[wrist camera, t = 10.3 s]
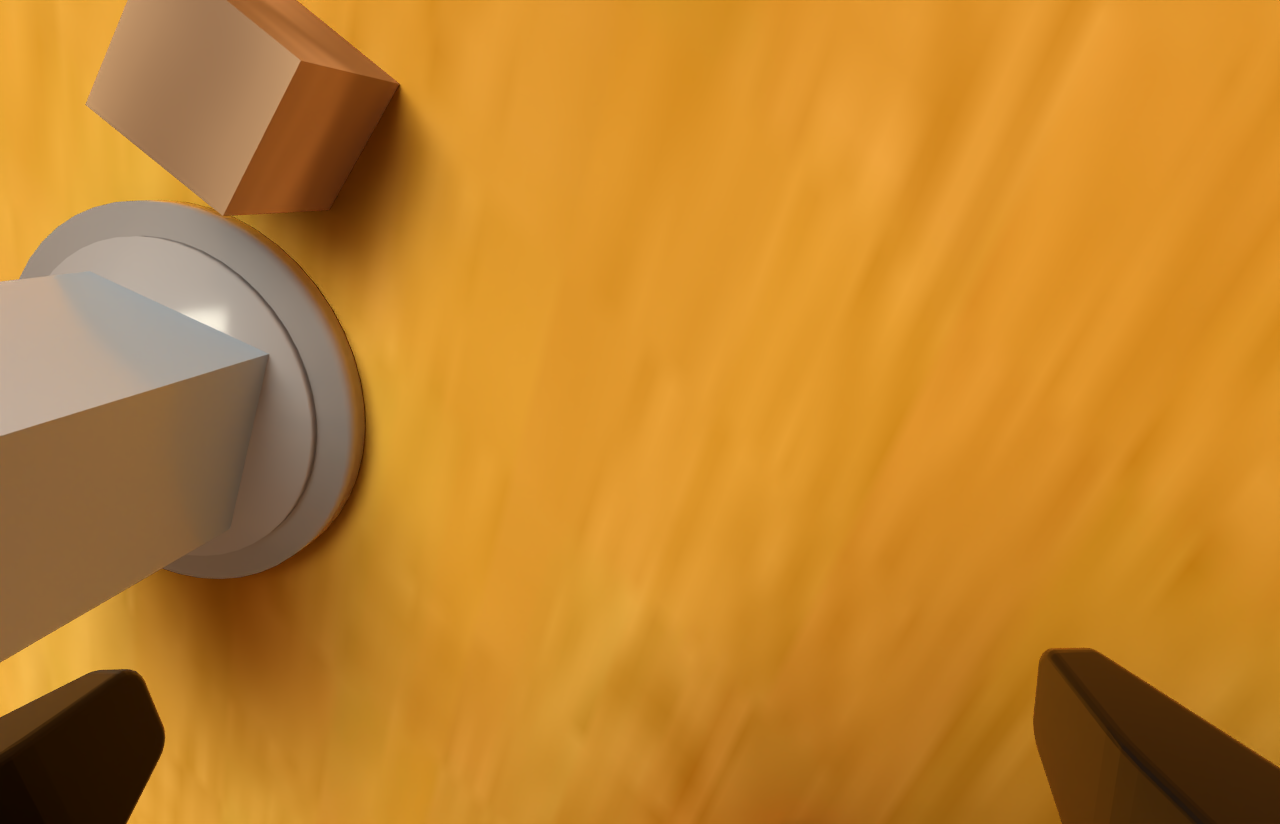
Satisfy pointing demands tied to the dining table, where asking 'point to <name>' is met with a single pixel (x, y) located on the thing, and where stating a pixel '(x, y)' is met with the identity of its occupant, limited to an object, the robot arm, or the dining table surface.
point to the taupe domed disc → (262, 317)
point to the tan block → (242, 100)
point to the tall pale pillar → (109, 444)
